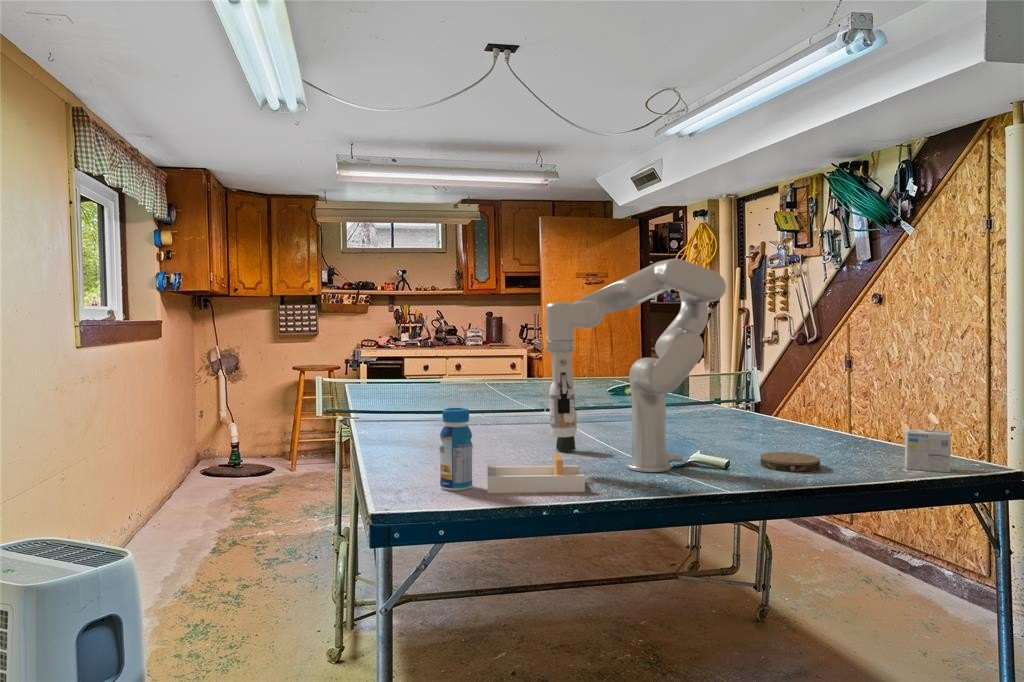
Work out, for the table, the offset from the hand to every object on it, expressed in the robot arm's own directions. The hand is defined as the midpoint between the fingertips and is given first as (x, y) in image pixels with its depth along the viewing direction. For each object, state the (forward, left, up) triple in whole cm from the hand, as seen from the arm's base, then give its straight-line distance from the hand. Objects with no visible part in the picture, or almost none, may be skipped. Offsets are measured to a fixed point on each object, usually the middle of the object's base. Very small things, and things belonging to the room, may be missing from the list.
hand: (562, 410), depth 183 cm
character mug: (-4, -32, -18) cm, 37 cm away
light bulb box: (-103, -1, -18) cm, 105 cm away
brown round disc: (-66, -6, -18) cm, 69 cm away
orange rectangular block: (+3, +14, -16) cm, 21 cm away
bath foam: (0, 0, -7) cm, 7 cm away
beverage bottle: (+29, +14, -18) cm, 36 cm away
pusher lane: (+9, +14, -17) cm, 24 cm away
